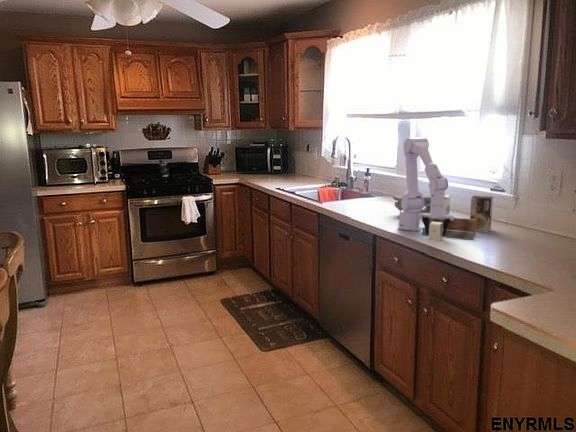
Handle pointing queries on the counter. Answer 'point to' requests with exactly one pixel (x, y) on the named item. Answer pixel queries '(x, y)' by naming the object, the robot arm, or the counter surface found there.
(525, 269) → the counter surface
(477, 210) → the coffee box
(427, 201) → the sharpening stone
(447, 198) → the syrup box
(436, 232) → the cream box
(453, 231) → the cleat board
